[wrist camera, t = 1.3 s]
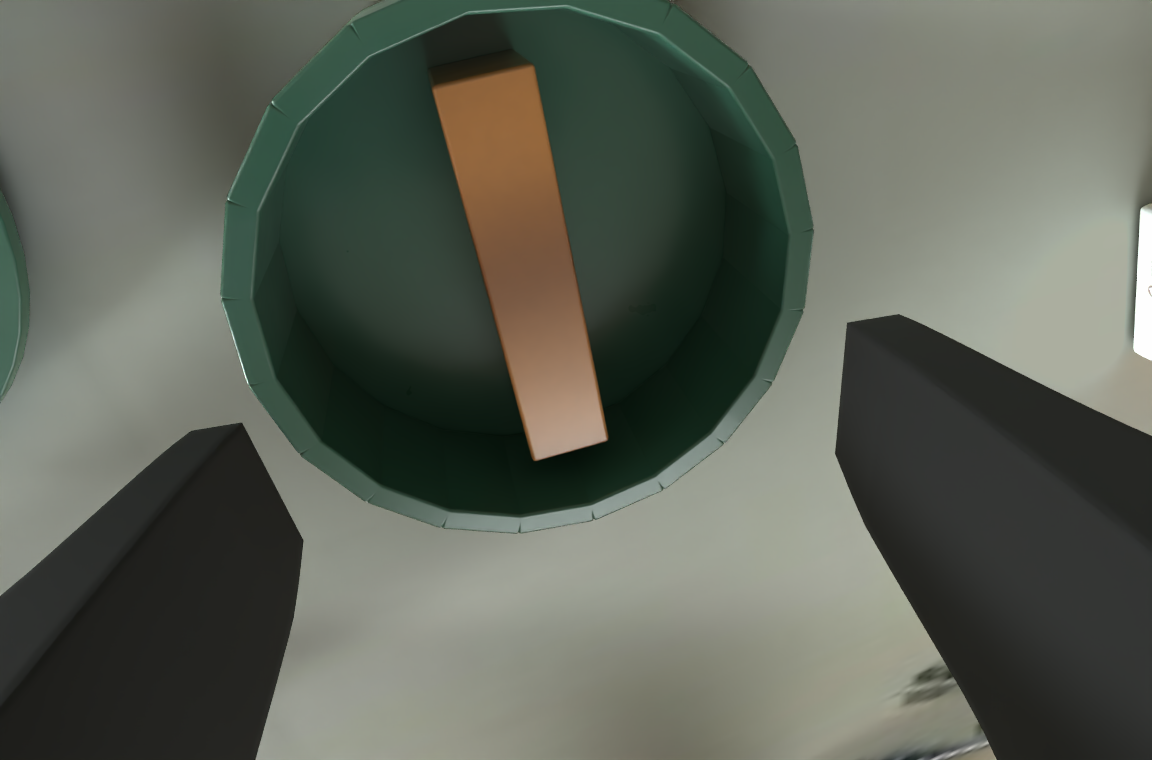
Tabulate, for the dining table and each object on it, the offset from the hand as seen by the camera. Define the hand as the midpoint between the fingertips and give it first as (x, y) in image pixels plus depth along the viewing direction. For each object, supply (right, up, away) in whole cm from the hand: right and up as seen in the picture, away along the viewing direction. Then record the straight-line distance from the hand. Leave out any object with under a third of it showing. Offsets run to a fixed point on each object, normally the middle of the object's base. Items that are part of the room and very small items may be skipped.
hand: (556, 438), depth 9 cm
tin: (-1, +4, +10) cm, 11 cm away
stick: (-1, +4, +9) cm, 10 cm away
